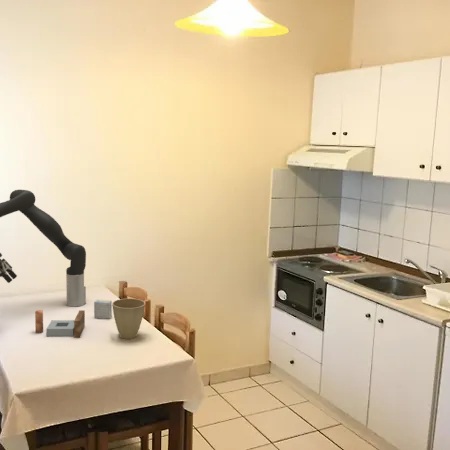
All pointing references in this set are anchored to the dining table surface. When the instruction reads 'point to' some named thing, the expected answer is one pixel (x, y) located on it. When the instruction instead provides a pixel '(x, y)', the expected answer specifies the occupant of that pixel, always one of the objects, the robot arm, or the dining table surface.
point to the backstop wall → (79, 323)
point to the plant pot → (128, 316)
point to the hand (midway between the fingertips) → (13, 279)
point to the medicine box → (103, 309)
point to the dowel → (39, 321)
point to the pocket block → (60, 328)
